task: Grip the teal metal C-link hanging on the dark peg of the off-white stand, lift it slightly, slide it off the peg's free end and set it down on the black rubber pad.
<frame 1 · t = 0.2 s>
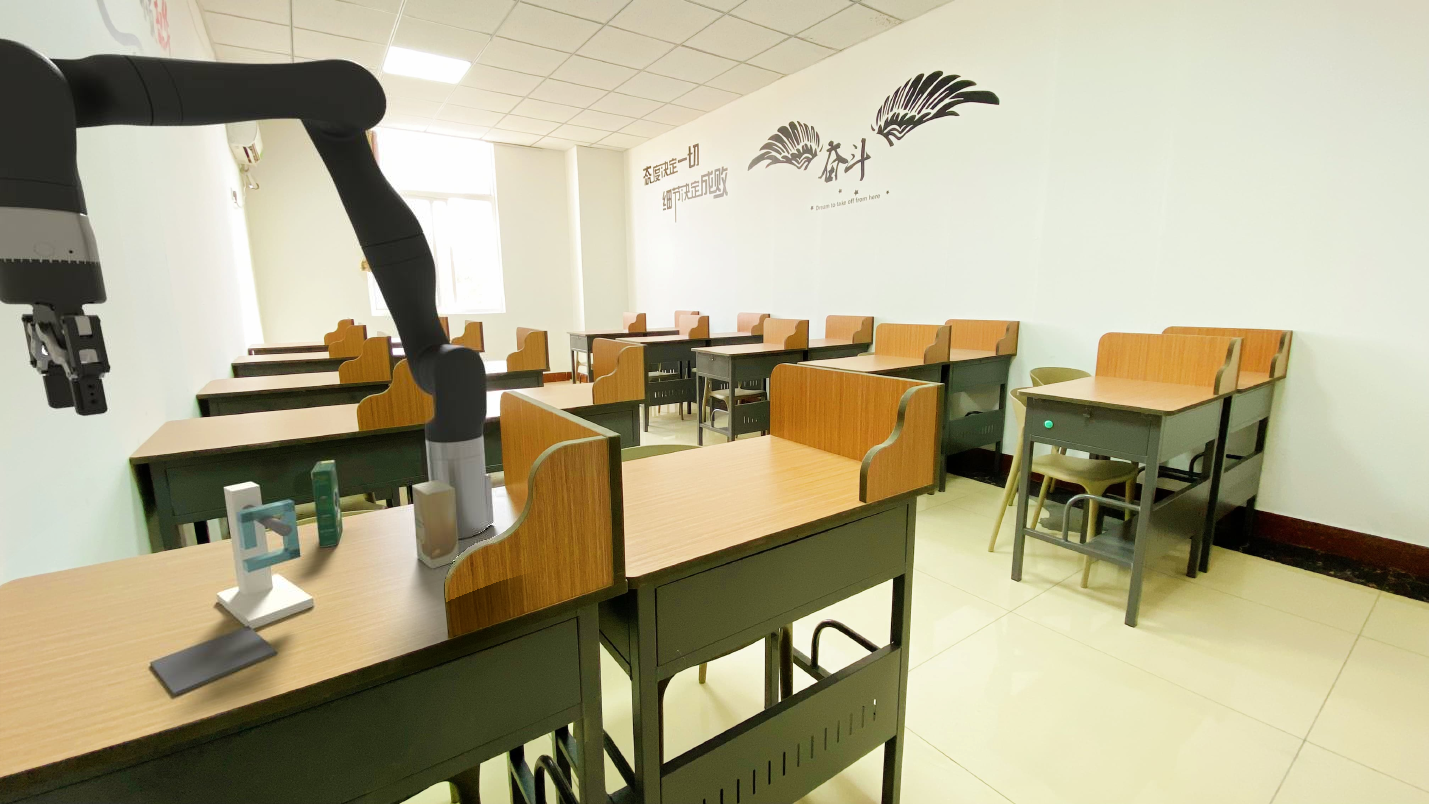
hand: (78, 410, 62), 29 cm above the table, tool pointing down, fingers open, 8 cm apart
stand: (265, 603, 78), on the table
c link: (272, 562, 74), point 7 cm above the table, touching stand
skincare box: (438, 560, 91), on the table
pad: (215, 659, 66), on the table
coffee box: (331, 539, 99), on the table
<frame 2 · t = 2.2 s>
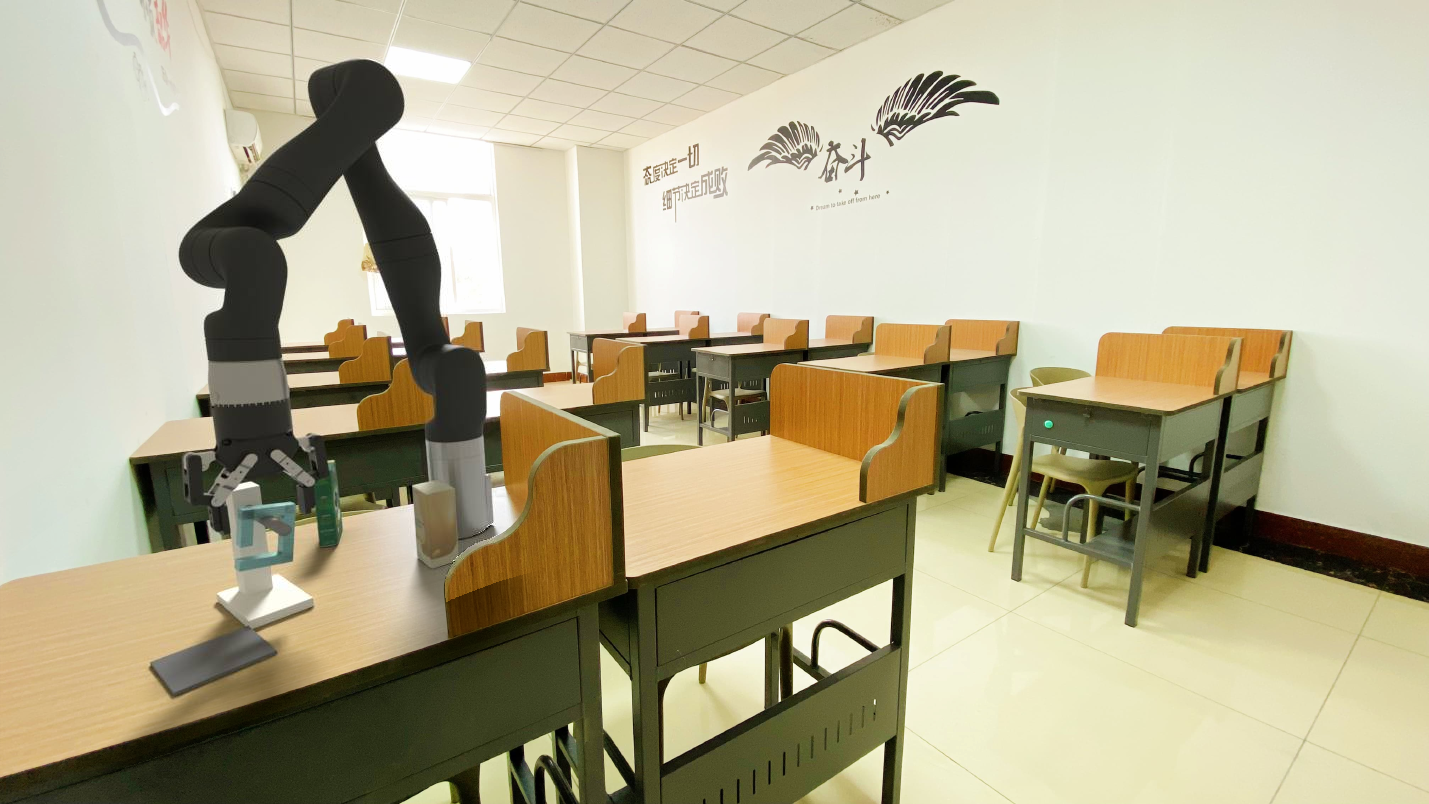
hand: (266, 522, 73), 13 cm above the table, tool pointing down, fingers open, 8 cm apart
c link: (264, 564, 73), point 7 cm above the table, tilted 8°, touching stand
everything else where it was.
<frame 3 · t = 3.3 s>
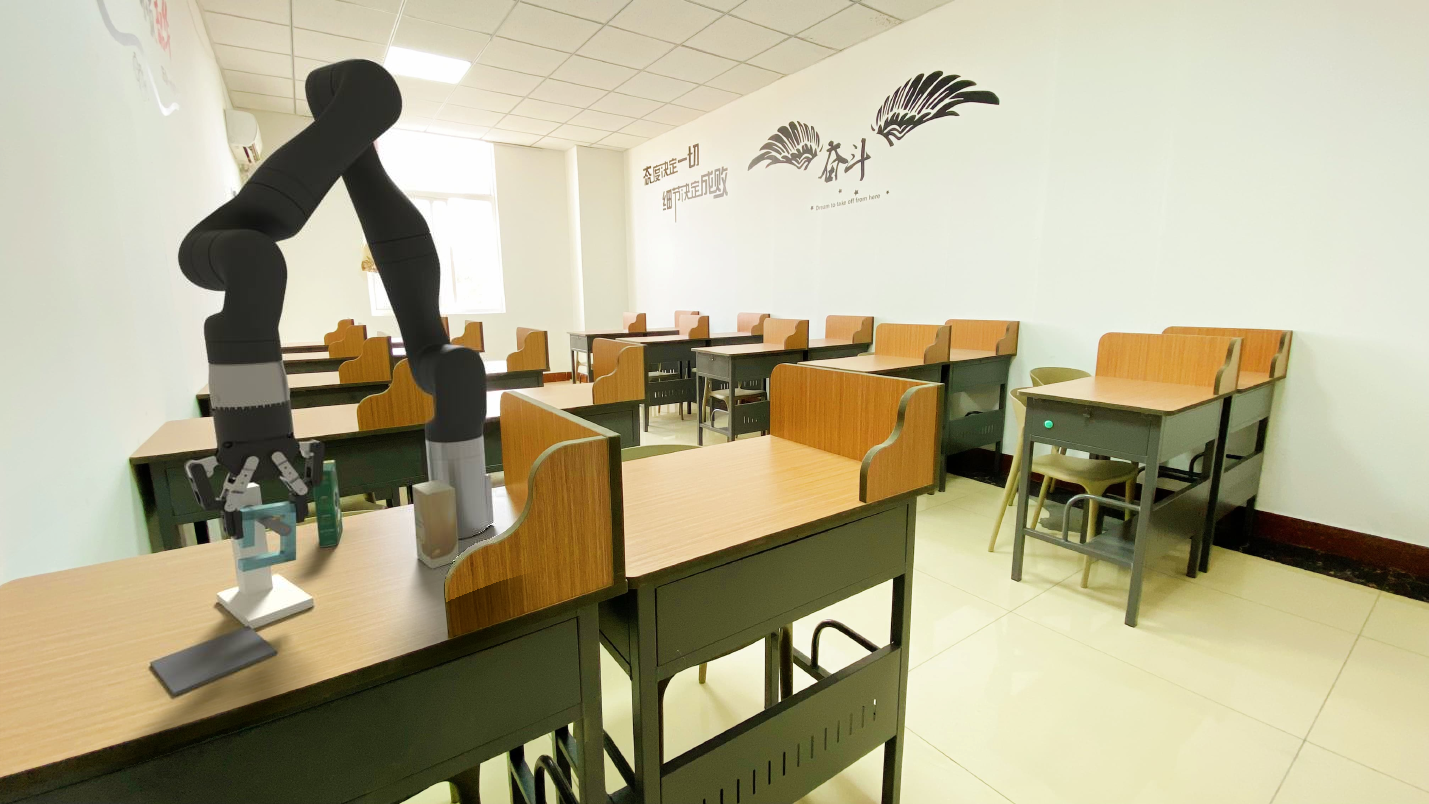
hand: (268, 528, 73), 12 cm above the table, tool pointing down, fingers closed on c link, 6 cm apart
c link: (267, 564, 73), point 7 cm above the table, tilted 6°, touching gripper, stand
everything else where it was.
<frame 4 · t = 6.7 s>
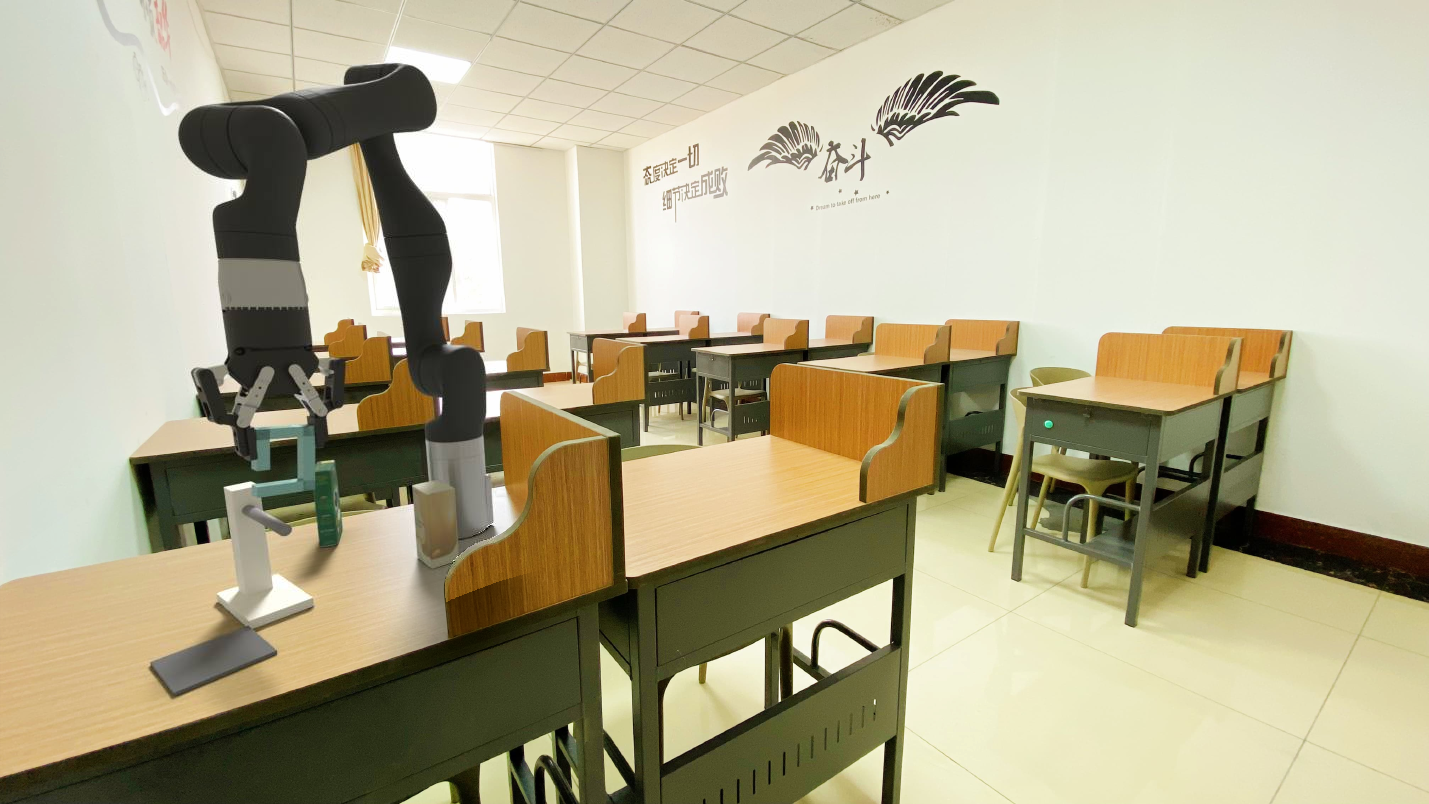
hand: (285, 452, 65), 23 cm above the table, tool pointing down, fingers closed on c link, 6 cm apart
c link: (284, 492, 66), point 19 cm above the table, tilted 5°, touching gripper
everything else where it was.
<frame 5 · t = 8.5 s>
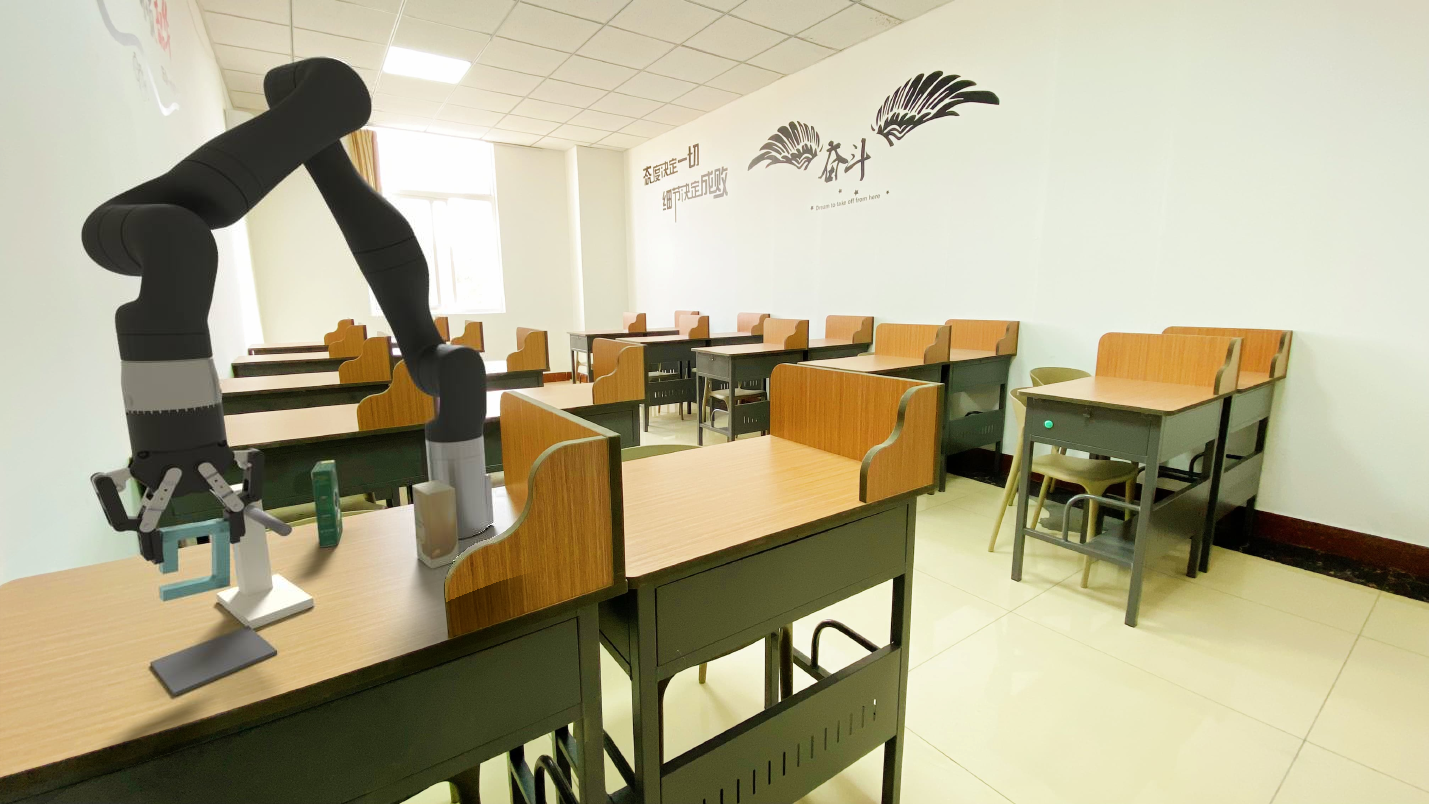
hand: (196, 551, 63), 13 cm above the table, tool pointing down, fingers closed on c link, 6 cm apart
c link: (195, 591, 64), point 9 cm above the table, tilted 6°, touching gripper
everything else where it was.
when the fingers open (7 cm above the table, at t = 10.2 s): c link drops 2 cm, resting on pad.
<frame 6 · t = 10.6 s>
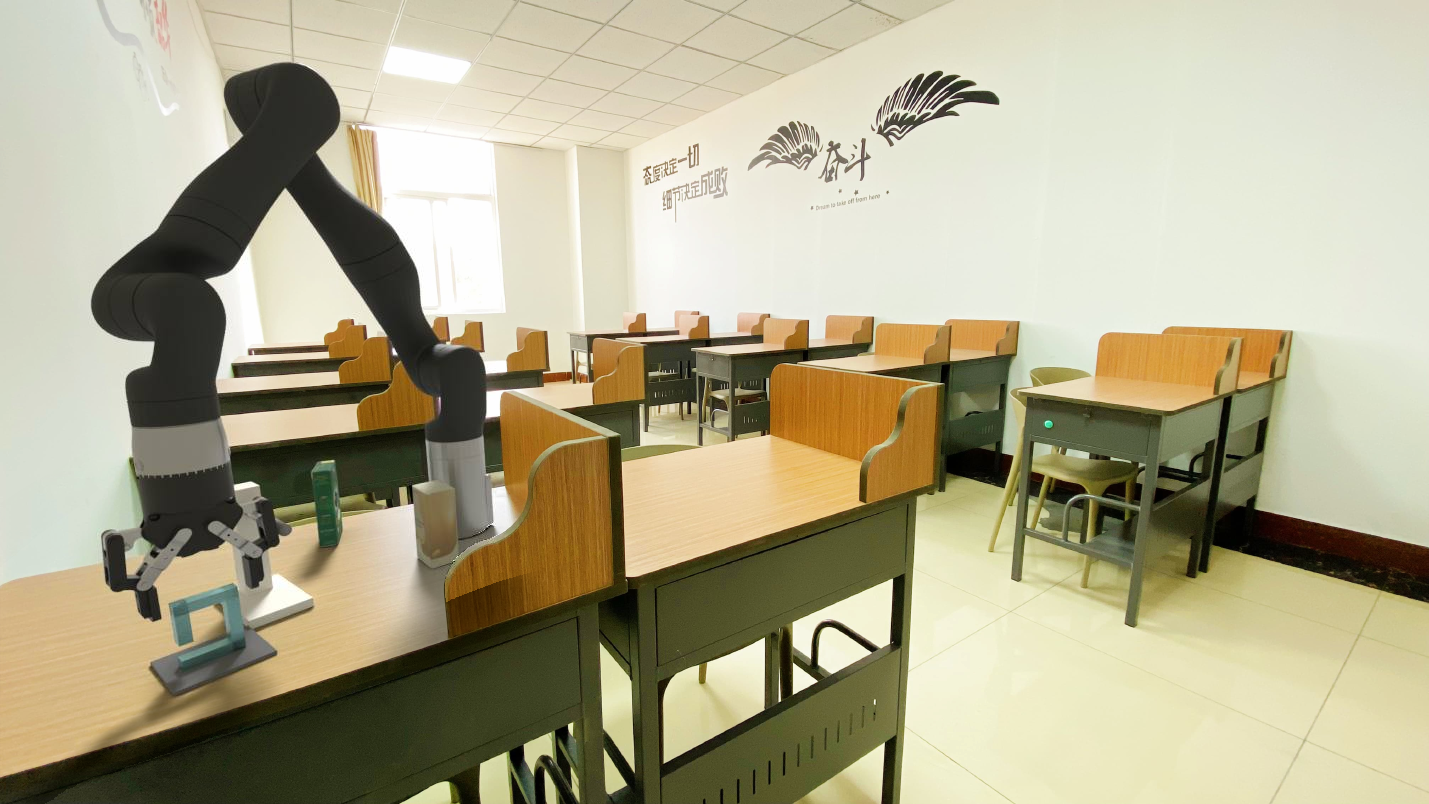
hand: (206, 601, 64), 7 cm above the table, tool pointing down, fingers open, 8 cm apart
c link: (213, 656, 65), resting on pad
everything else where it was.
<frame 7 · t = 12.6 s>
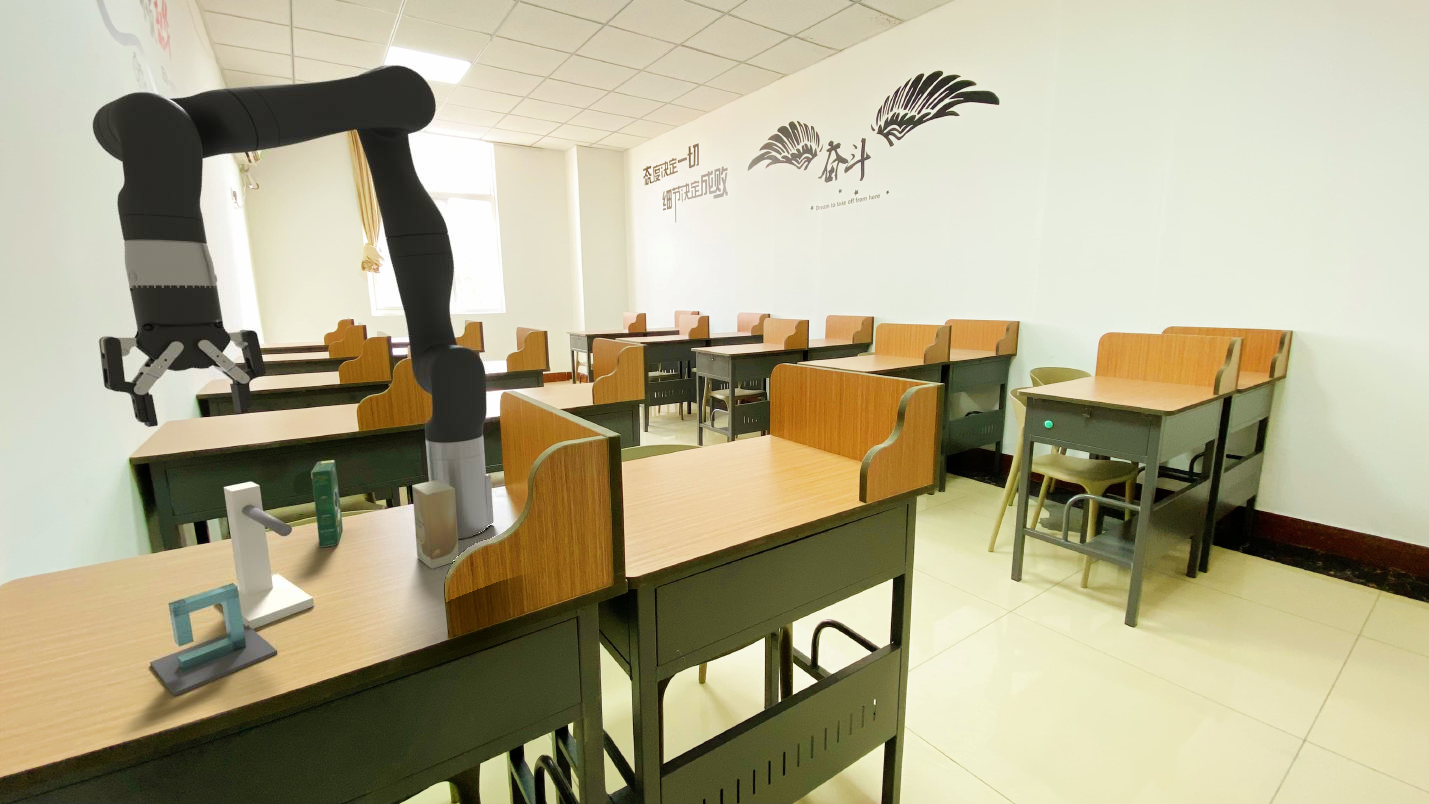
hand: (198, 418, 70), 26 cm above the table, tool pointing down, fingers open, 8 cm apart
nothing on the table moved.
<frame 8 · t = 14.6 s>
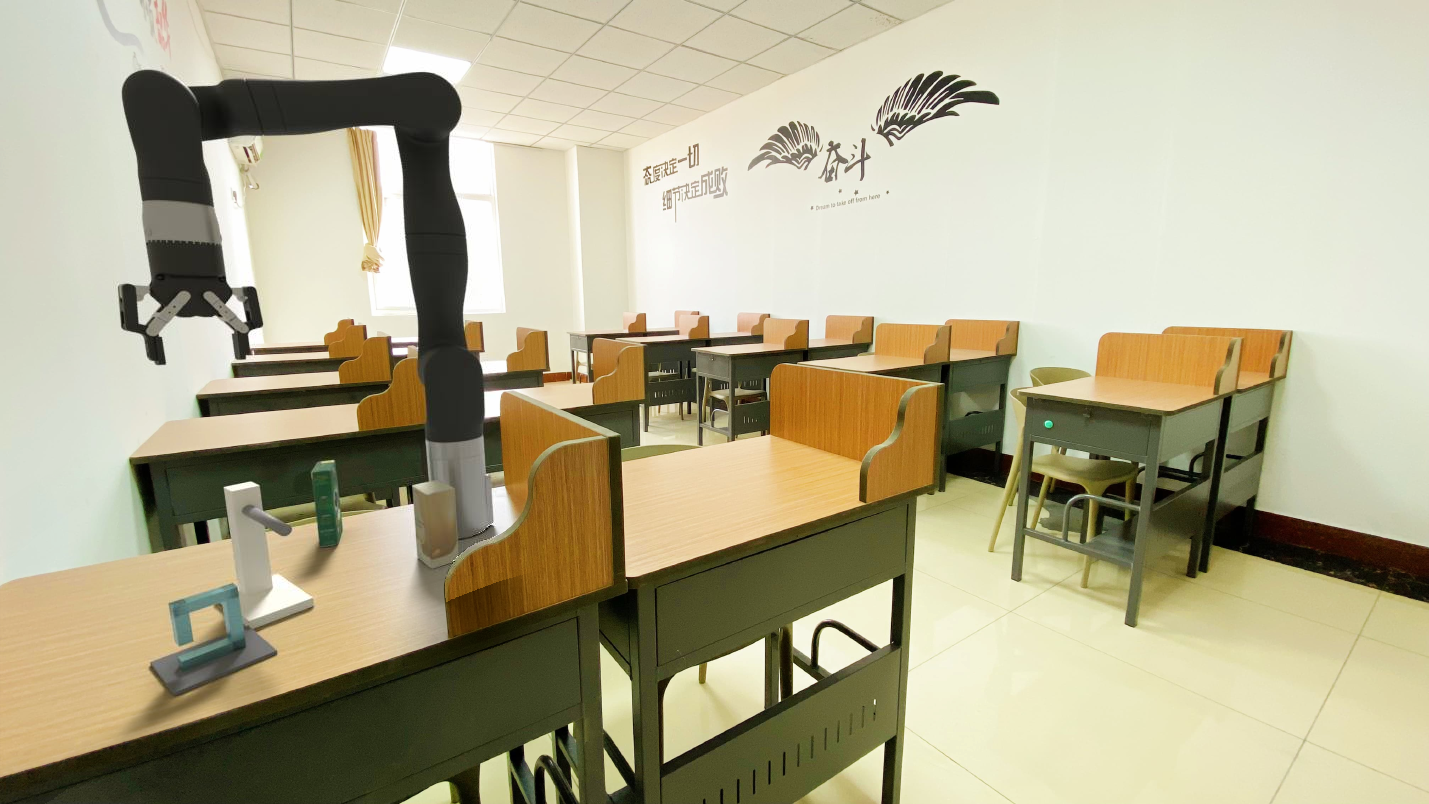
hand: (202, 362, 79), 32 cm above the table, tool pointing down, fingers open, 8 cm apart
nothing on the table moved.
at the end: c link inside the target area (0.1 cm from its centre), resting on pad; c link touching pad; the gripper is holding nothing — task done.
